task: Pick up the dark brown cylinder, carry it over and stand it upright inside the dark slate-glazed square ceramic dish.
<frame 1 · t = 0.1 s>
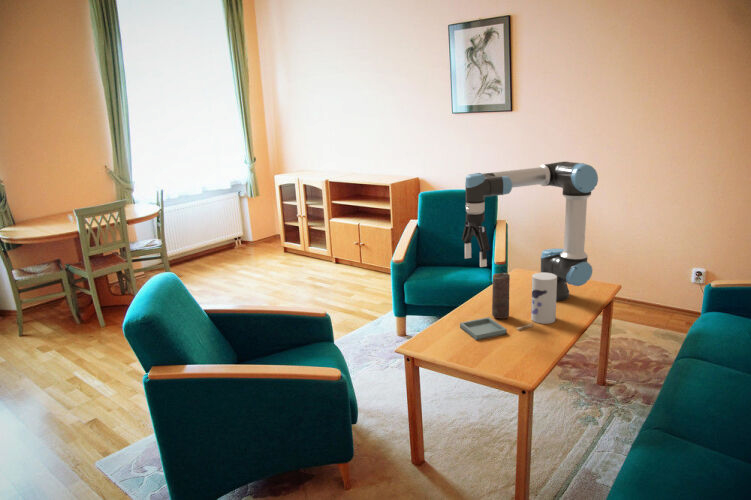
hand: (475, 262, 220), 28 cm above the table, fingers open, 13 cm apart
container: (543, 319, 227), on the table
dish: (482, 330, 220), on the table
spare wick: (524, 328, 220), on the table
dark brown cylinder: (500, 317, 232), on the table
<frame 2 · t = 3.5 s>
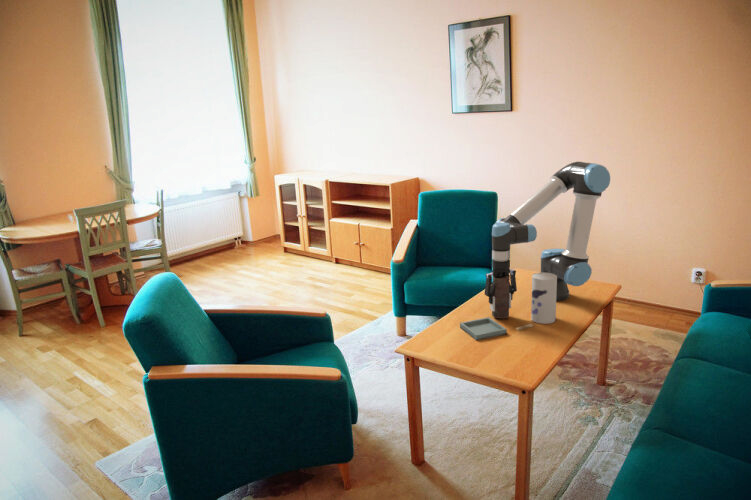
hand: (500, 308, 231), 4 cm above the table, fingers closed on dark brown cylinder, 7 cm apart
dark brown cylinder: (500, 317, 232), on the table, touching gripper
everything else where it was.
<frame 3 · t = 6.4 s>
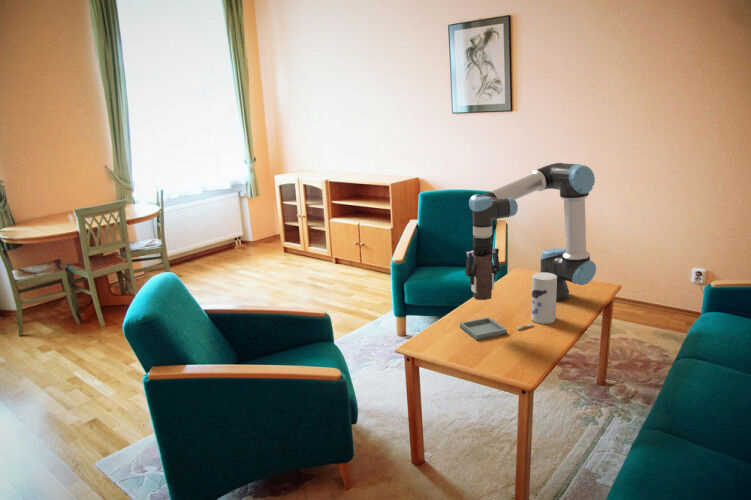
hand: (482, 290, 215), 18 cm above the table, fingers closed on dark brown cylinder, 7 cm apart
dark brown cylinder: (482, 299, 216), point 14 cm above the table, touching gripper
everything else where it was.
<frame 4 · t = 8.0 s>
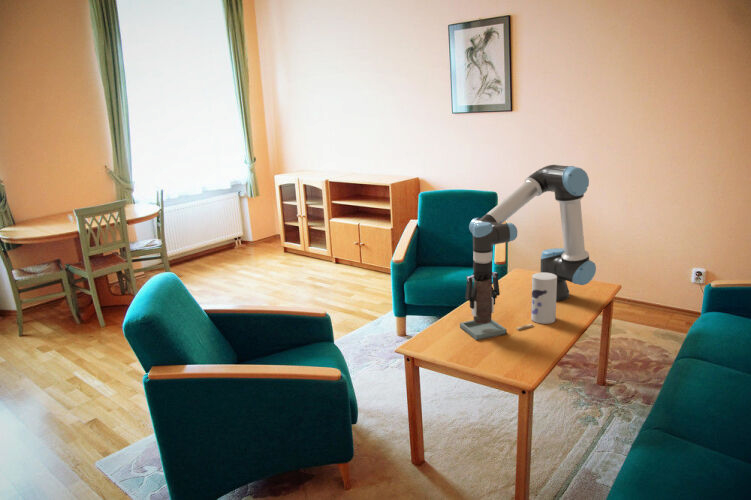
hand: (482, 313, 218), 8 cm above the table, fingers closed on dark brown cylinder, 7 cm apart
dark brown cylinder: (482, 323, 219), point 3 cm above the table, touching gripper
everything else where it was.
when the fingers open (6 cm above the table, at t = 9.3 s): dark brown cylinder drops 1 cm, resting on dish.
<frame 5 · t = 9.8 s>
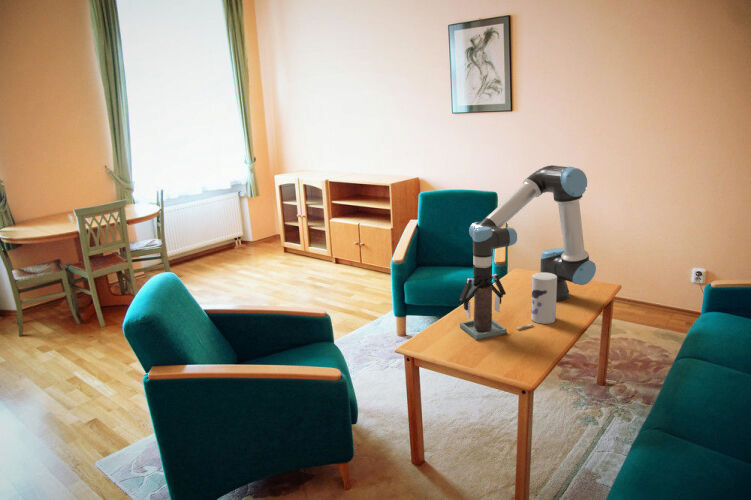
hand: (482, 314, 218), 8 cm above the table, fingers open, 13 cm apart
dark brown cylinder: (482, 329, 220), resting on dish
everything else where it was.
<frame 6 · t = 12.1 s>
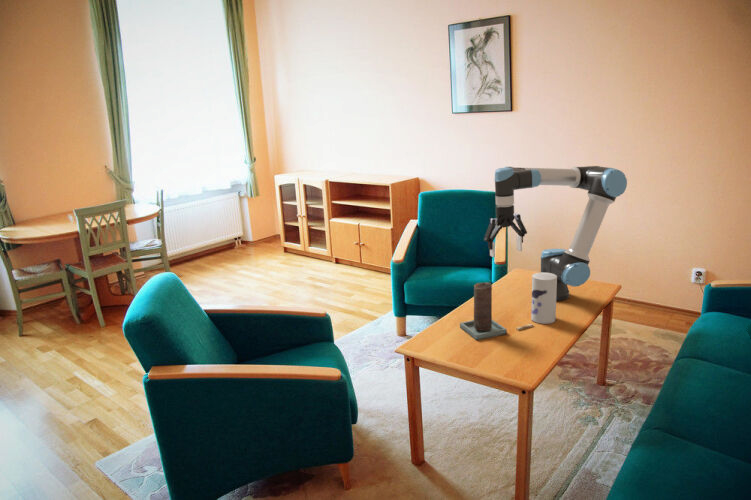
hand: (506, 253, 227), 29 cm above the table, fingers open, 13 cm apart
nothing on the table moved.
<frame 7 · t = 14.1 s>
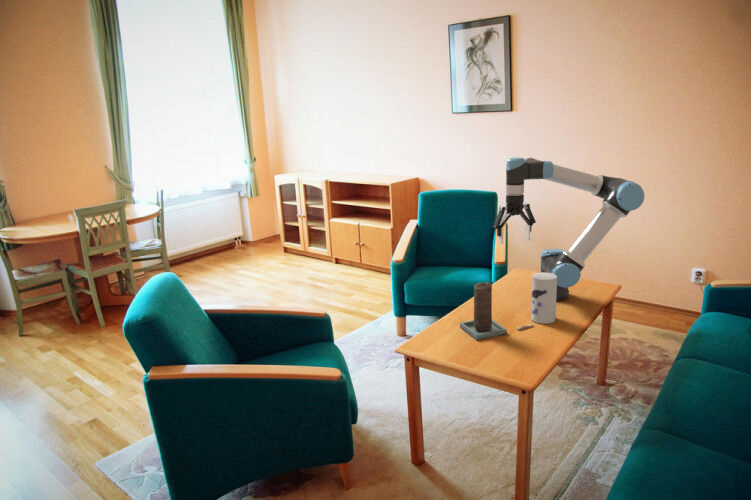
hand: (514, 241, 233), 32 cm above the table, fingers open, 13 cm apart
nothing on the table moved.
at the end: dark brown cylinder inside the target area on the dish (0.1 cm from its centre), point 0.4 cm above the dish's base; dark brown cylinder tilted 0°; the gripper is holding nothing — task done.
